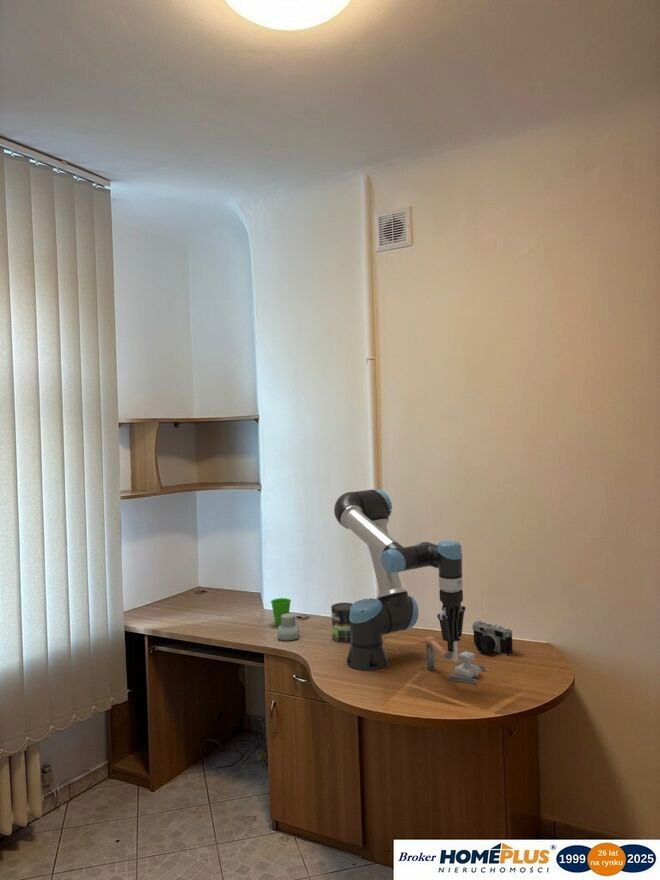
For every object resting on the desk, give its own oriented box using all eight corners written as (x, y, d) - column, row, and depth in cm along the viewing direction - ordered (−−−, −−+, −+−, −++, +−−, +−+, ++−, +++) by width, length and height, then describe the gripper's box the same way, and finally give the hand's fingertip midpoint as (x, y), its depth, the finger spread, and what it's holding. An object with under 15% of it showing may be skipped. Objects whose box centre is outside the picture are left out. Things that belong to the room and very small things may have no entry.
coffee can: (339, 646, 240) (338, 611, 240) (327, 639, 249) (326, 605, 249) (362, 641, 245) (361, 607, 244) (349, 634, 254) (348, 601, 253)
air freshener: (298, 643, 245) (297, 619, 245) (277, 644, 245) (277, 619, 245) (299, 634, 256) (298, 610, 256) (279, 635, 256) (279, 611, 256)
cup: (294, 627, 265) (293, 602, 265) (274, 630, 262) (273, 605, 261) (288, 621, 273) (287, 597, 273) (269, 624, 270) (268, 599, 270)
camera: (461, 648, 234) (460, 623, 234) (478, 642, 240) (477, 617, 240) (499, 661, 220) (498, 634, 220) (516, 654, 226) (515, 628, 226)
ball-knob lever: (423, 641, 215) (423, 634, 215) (433, 640, 215) (433, 633, 215) (444, 663, 195) (444, 655, 195) (455, 662, 196) (455, 654, 195)
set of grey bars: (418, 677, 209) (417, 649, 209) (430, 663, 220) (429, 637, 220) (475, 687, 200) (474, 658, 199) (485, 672, 211) (484, 645, 210)
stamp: (484, 678, 206) (483, 654, 206) (472, 684, 202) (472, 659, 202) (462, 671, 213) (461, 647, 213) (450, 677, 208) (450, 652, 208)
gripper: (449, 595, 191) (451, 669, 191) (471, 586, 200) (473, 657, 201) (429, 591, 196) (432, 663, 197) (452, 583, 205) (454, 651, 206)
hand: (453, 660), depth 199 cm, fingers closed
